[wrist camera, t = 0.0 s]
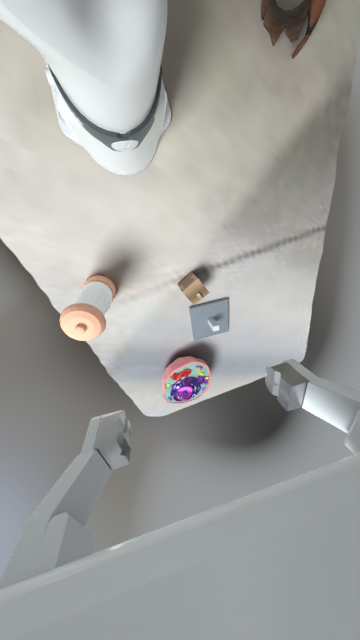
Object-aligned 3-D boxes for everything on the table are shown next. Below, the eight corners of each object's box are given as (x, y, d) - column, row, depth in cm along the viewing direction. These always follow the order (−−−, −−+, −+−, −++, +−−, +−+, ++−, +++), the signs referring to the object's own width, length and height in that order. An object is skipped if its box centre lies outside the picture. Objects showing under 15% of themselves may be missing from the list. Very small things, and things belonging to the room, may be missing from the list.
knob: (177, 283, 47) (182, 292, 41) (191, 271, 46) (199, 279, 40) (188, 296, 49) (194, 306, 44) (201, 284, 49) (210, 293, 43)
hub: (189, 307, 51) (194, 316, 46) (226, 297, 53) (235, 305, 48) (193, 338, 58) (198, 348, 53) (226, 329, 59) (234, 338, 54)
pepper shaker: (85, 271, 40) (52, 306, 24) (117, 279, 43) (106, 315, 27) (83, 299, 43) (52, 346, 27) (113, 305, 46) (101, 351, 30)
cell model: (212, 350, 63) (226, 374, 53) (189, 387, 71) (198, 413, 61) (171, 341, 56) (178, 366, 47) (150, 382, 64) (153, 411, 55)
